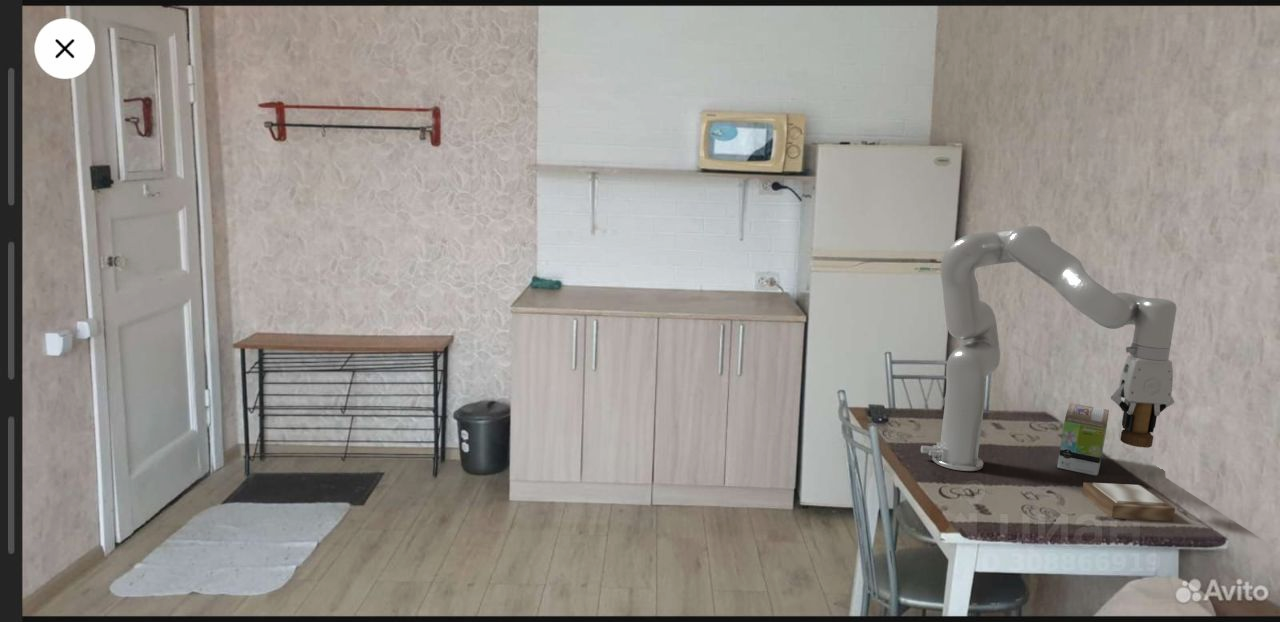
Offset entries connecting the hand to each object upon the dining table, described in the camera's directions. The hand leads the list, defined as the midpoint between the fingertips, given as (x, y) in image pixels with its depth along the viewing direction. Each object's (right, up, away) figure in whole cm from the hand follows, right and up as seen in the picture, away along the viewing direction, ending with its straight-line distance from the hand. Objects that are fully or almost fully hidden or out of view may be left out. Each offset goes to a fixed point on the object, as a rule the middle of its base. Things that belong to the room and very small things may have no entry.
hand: (1137, 429), depth 205 cm
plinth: (-1, -19, +3) cm, 19 cm away
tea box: (+2, -14, +32) cm, 35 cm away
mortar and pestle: (0, -3, +1) cm, 4 cm away
